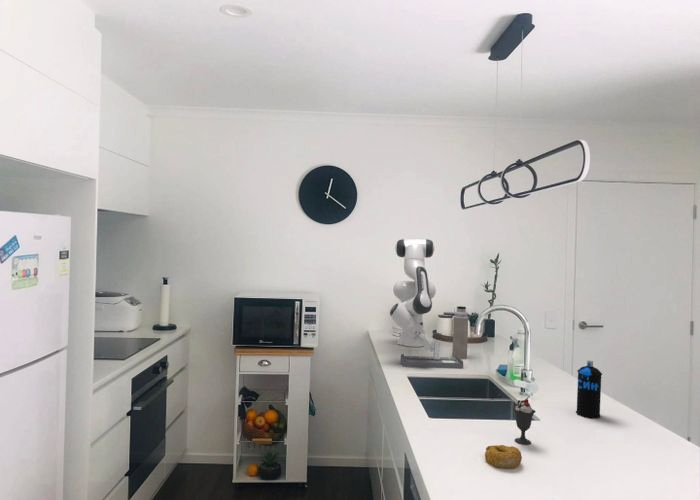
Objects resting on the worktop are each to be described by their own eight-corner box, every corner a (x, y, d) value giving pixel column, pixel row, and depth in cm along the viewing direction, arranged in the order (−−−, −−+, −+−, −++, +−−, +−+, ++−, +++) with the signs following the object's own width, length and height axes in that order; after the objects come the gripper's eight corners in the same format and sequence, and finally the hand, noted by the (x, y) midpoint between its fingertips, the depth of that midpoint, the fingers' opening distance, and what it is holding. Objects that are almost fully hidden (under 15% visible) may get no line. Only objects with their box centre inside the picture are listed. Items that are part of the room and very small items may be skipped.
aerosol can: (580, 409, 183) (582, 357, 183) (603, 415, 177) (605, 361, 177) (572, 414, 177) (574, 360, 177) (596, 420, 172) (598, 364, 171)
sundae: (532, 448, 146) (533, 398, 145) (509, 442, 149) (511, 394, 149) (536, 440, 151) (538, 393, 151) (514, 435, 155) (516, 389, 155)
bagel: (511, 453, 141) (512, 437, 141) (527, 471, 130) (528, 454, 130) (478, 453, 141) (479, 437, 141) (492, 472, 130) (492, 454, 130)
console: (400, 360, 253) (400, 353, 253) (457, 362, 253) (457, 355, 253) (403, 366, 240) (403, 359, 240) (463, 368, 240) (463, 361, 240)
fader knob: (433, 358, 248) (433, 340, 248) (437, 358, 248) (438, 340, 248) (434, 359, 245) (435, 341, 245) (439, 359, 245) (439, 341, 245)
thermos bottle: (451, 355, 270) (453, 305, 269) (465, 356, 269) (467, 306, 269) (453, 358, 262) (454, 307, 261) (468, 359, 261) (469, 307, 261)
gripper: (422, 330, 236) (441, 350, 236) (416, 323, 257) (433, 342, 257) (412, 338, 236) (431, 359, 236) (407, 331, 257) (425, 350, 257)
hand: (432, 350), depth 247 cm, fingers closed, pressing on fader knob
